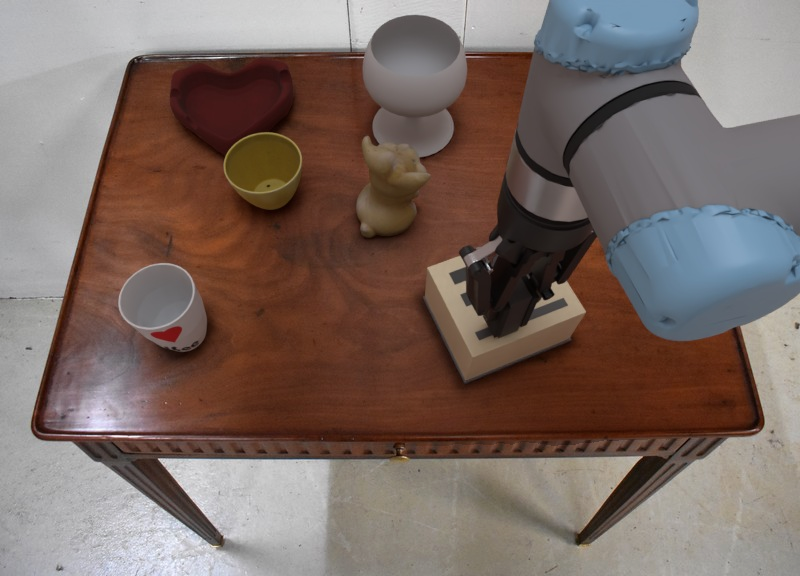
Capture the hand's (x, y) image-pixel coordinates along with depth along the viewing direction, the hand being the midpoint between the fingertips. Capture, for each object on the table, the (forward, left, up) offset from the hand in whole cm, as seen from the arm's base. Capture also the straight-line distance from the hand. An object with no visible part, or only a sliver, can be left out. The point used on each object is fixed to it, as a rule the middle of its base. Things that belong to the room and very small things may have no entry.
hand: (504, 320), depth 63 cm
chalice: (+37, -5, -10) cm, 39 cm away
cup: (+17, +34, -10) cm, 39 cm away
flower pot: (+33, +18, -10) cm, 39 cm away
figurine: (+23, +4, -10) cm, 25 cm away
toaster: (+4, -2, -10) cm, 11 cm away
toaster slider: (0, 0, -1) cm, 1 cm away
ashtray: (+48, +19, -10) cm, 52 cm away
